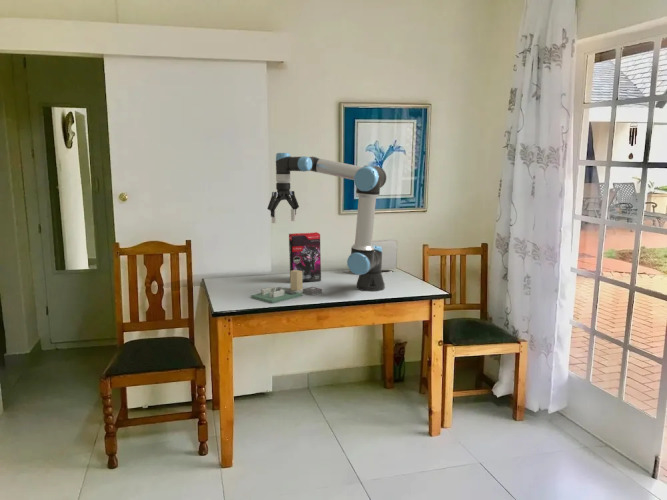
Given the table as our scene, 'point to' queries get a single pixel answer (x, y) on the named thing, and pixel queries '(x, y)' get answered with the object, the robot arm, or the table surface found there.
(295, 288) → the plug
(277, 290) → the board
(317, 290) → the fan block
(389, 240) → the network device
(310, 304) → the table surface
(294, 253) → the graphics card box
